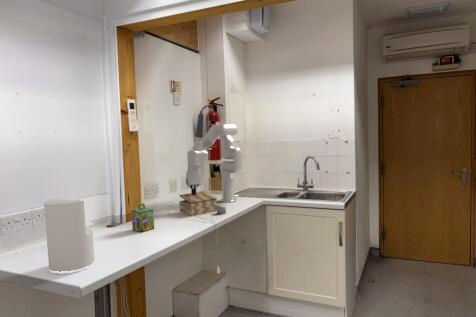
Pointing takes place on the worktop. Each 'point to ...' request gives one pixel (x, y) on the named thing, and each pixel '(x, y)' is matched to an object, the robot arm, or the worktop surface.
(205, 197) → the lid
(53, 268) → the cylinder
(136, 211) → the green lunch box
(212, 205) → the storage box
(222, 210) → the grey knob post
